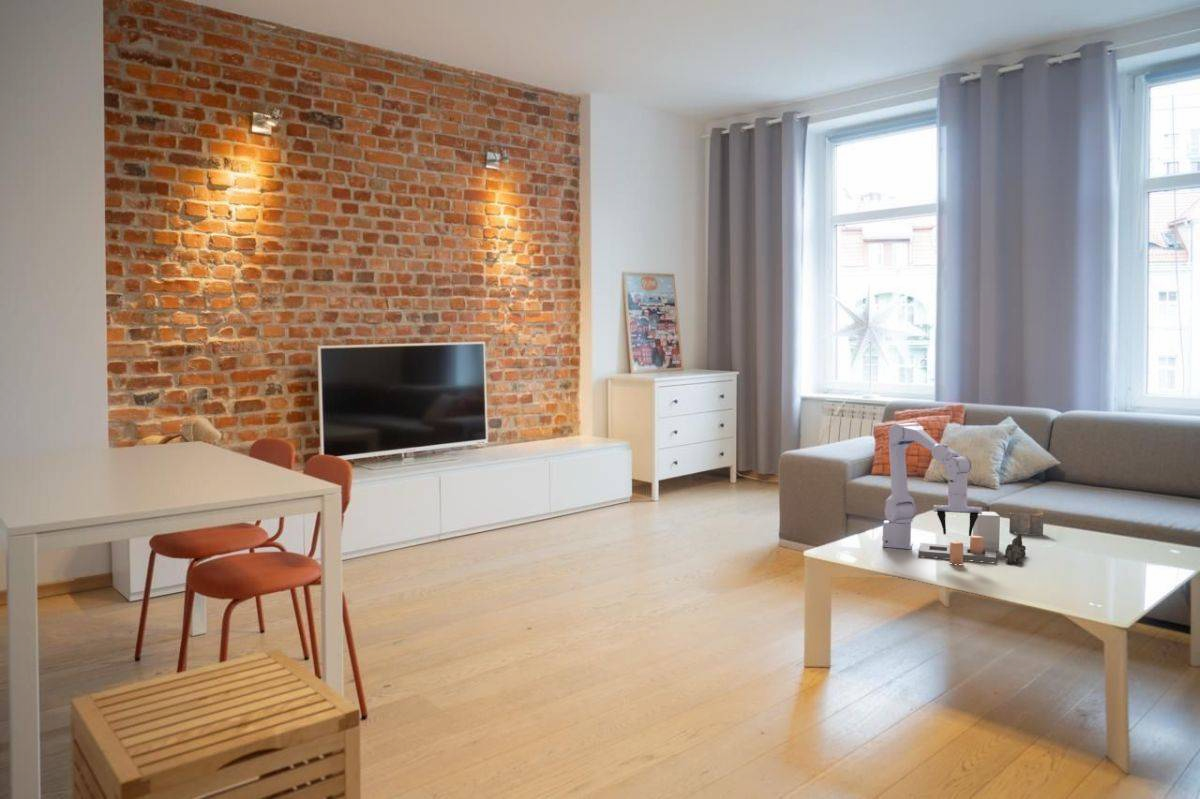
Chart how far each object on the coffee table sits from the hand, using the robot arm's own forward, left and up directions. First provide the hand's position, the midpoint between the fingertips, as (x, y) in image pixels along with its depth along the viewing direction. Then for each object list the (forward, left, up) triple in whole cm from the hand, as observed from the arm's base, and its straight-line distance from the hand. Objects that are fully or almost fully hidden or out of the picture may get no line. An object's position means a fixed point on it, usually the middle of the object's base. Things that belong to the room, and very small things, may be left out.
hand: (957, 534), depth 289 cm
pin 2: (+6, +11, -10) cm, 16 cm away
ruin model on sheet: (+23, +56, -10) cm, 61 cm away
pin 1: (0, 0, -10) cm, 10 cm away
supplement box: (+9, +25, -10) cm, 28 cm away
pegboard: (0, +11, -10) cm, 14 cm away
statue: (+18, +15, -10) cm, 25 cm away
